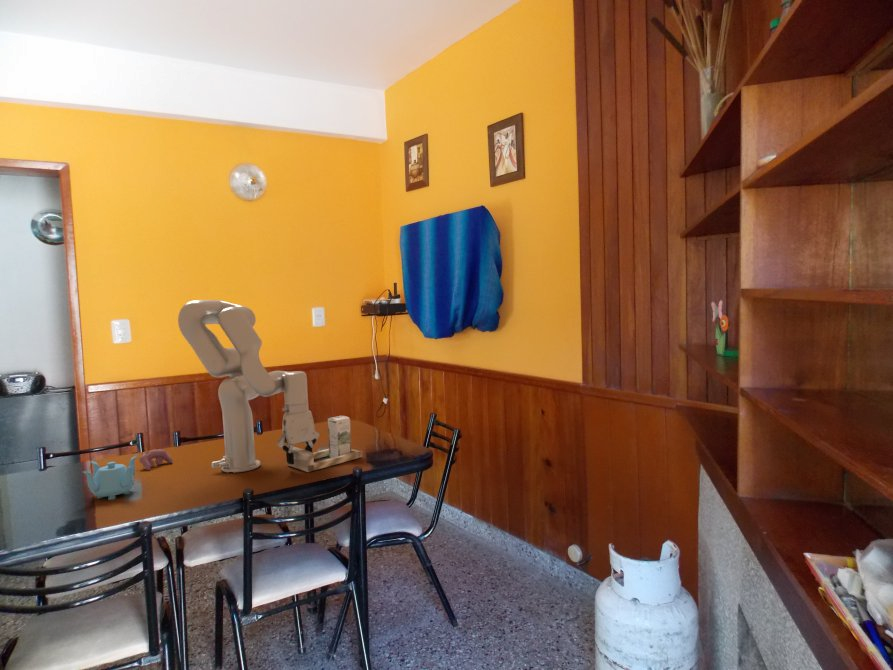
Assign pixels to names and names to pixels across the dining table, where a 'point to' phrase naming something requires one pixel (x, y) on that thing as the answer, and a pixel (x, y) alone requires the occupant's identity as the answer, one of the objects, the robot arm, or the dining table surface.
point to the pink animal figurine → (155, 453)
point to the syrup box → (339, 436)
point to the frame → (306, 458)
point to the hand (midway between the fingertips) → (299, 460)
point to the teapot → (111, 479)
